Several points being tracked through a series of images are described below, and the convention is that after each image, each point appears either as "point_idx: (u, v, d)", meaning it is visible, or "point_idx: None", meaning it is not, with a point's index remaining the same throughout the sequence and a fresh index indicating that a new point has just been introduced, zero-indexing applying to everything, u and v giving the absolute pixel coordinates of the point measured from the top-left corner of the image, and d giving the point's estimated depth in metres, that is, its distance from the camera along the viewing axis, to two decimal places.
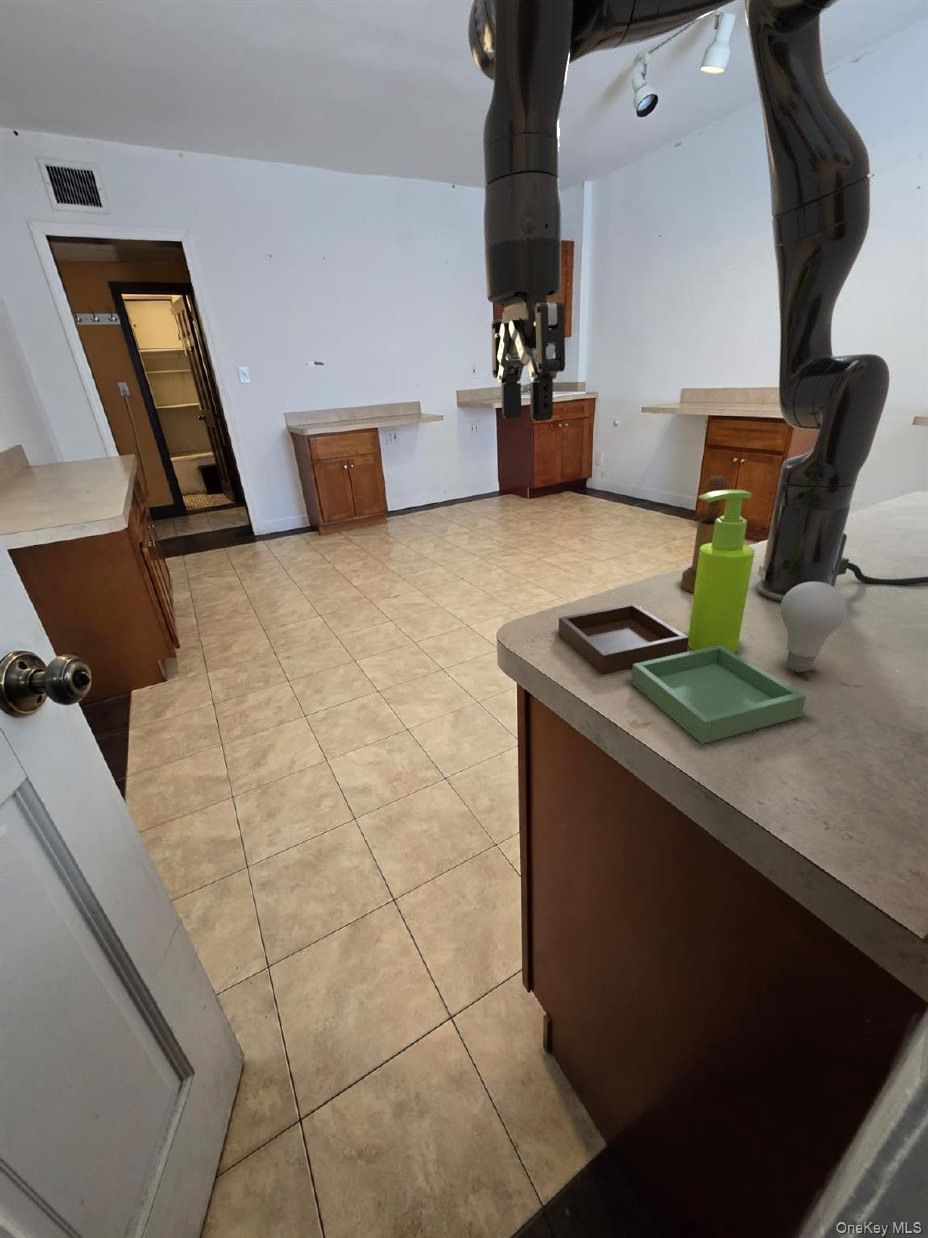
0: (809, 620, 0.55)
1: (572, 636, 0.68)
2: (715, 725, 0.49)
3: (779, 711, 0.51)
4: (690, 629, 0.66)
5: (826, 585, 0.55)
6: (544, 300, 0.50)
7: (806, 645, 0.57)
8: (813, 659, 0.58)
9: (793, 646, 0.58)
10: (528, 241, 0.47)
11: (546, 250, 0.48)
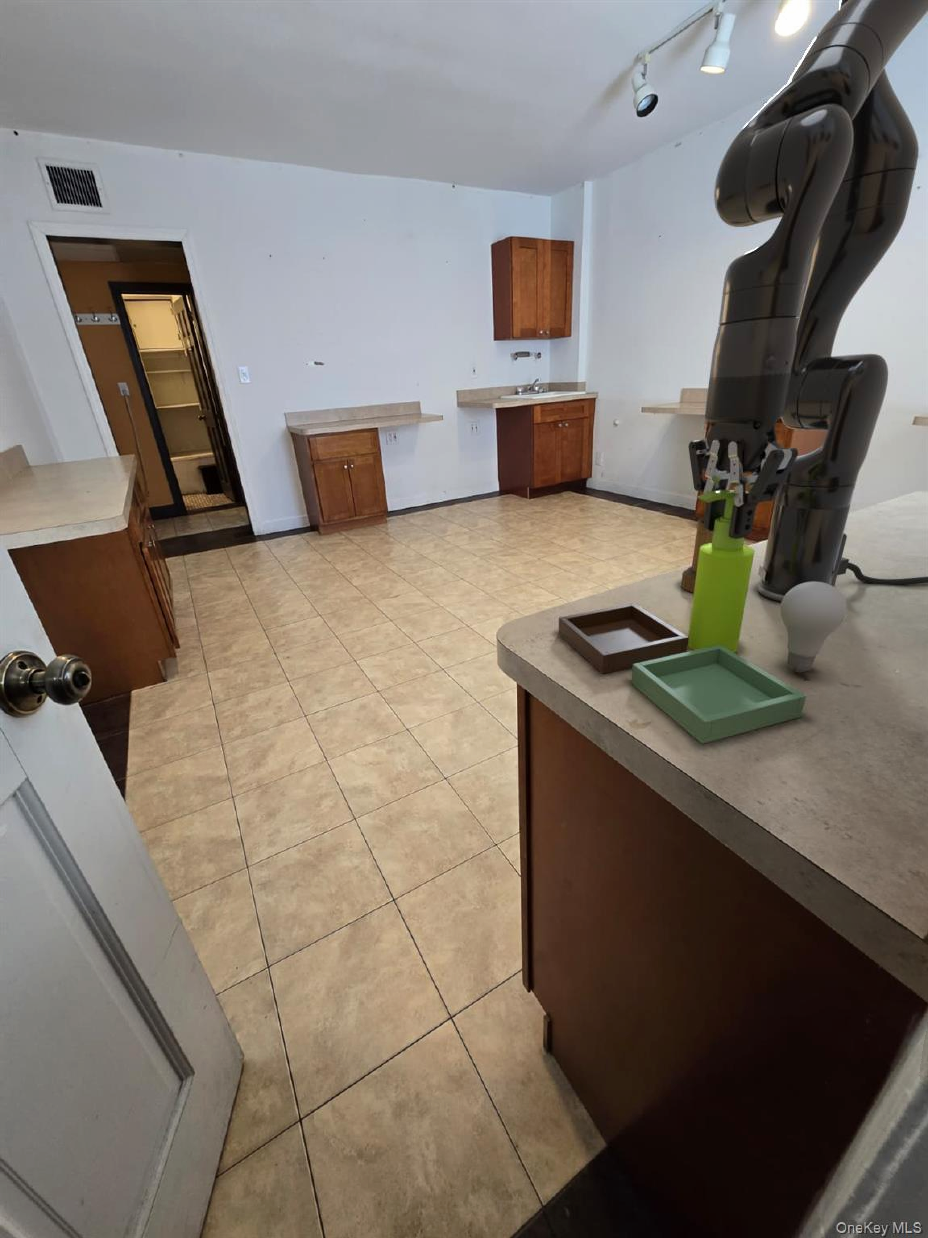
0: (809, 620, 0.55)
1: (572, 636, 0.68)
2: (715, 725, 0.49)
3: (779, 711, 0.51)
4: (690, 629, 0.66)
5: (826, 585, 0.55)
6: (774, 427, 0.52)
7: (806, 645, 0.57)
8: (813, 659, 0.58)
9: (793, 646, 0.58)
10: (769, 377, 0.50)
11: (782, 384, 0.51)
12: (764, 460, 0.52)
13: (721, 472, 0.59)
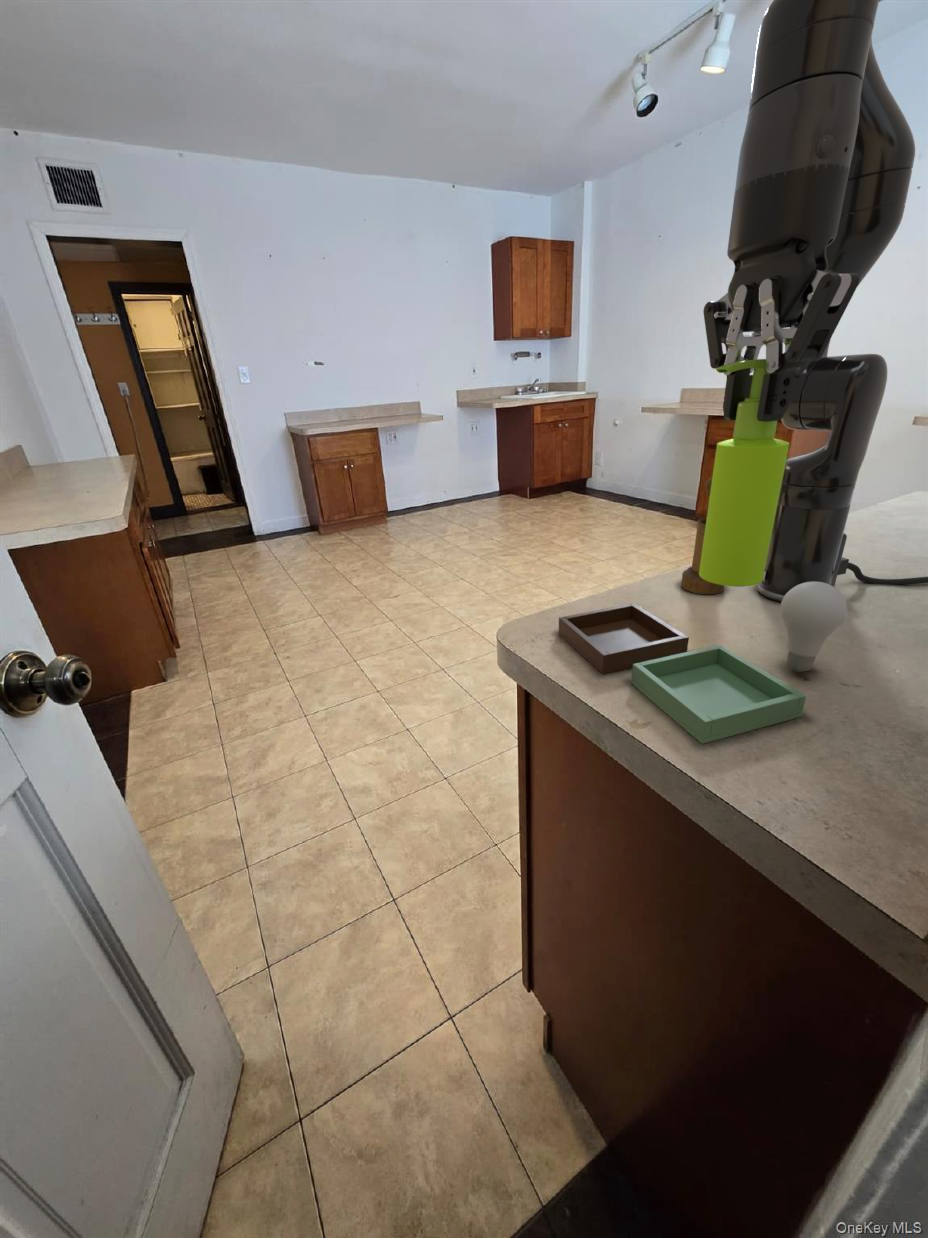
0: (809, 620, 0.55)
1: (572, 636, 0.68)
2: (715, 725, 0.49)
3: (779, 711, 0.51)
4: (703, 554, 0.52)
5: (826, 585, 0.55)
6: (824, 250, 0.38)
7: (806, 645, 0.57)
8: (813, 659, 0.58)
9: (793, 646, 0.58)
10: (821, 169, 0.36)
11: (839, 183, 0.37)
12: (811, 294, 0.38)
13: (747, 336, 0.45)
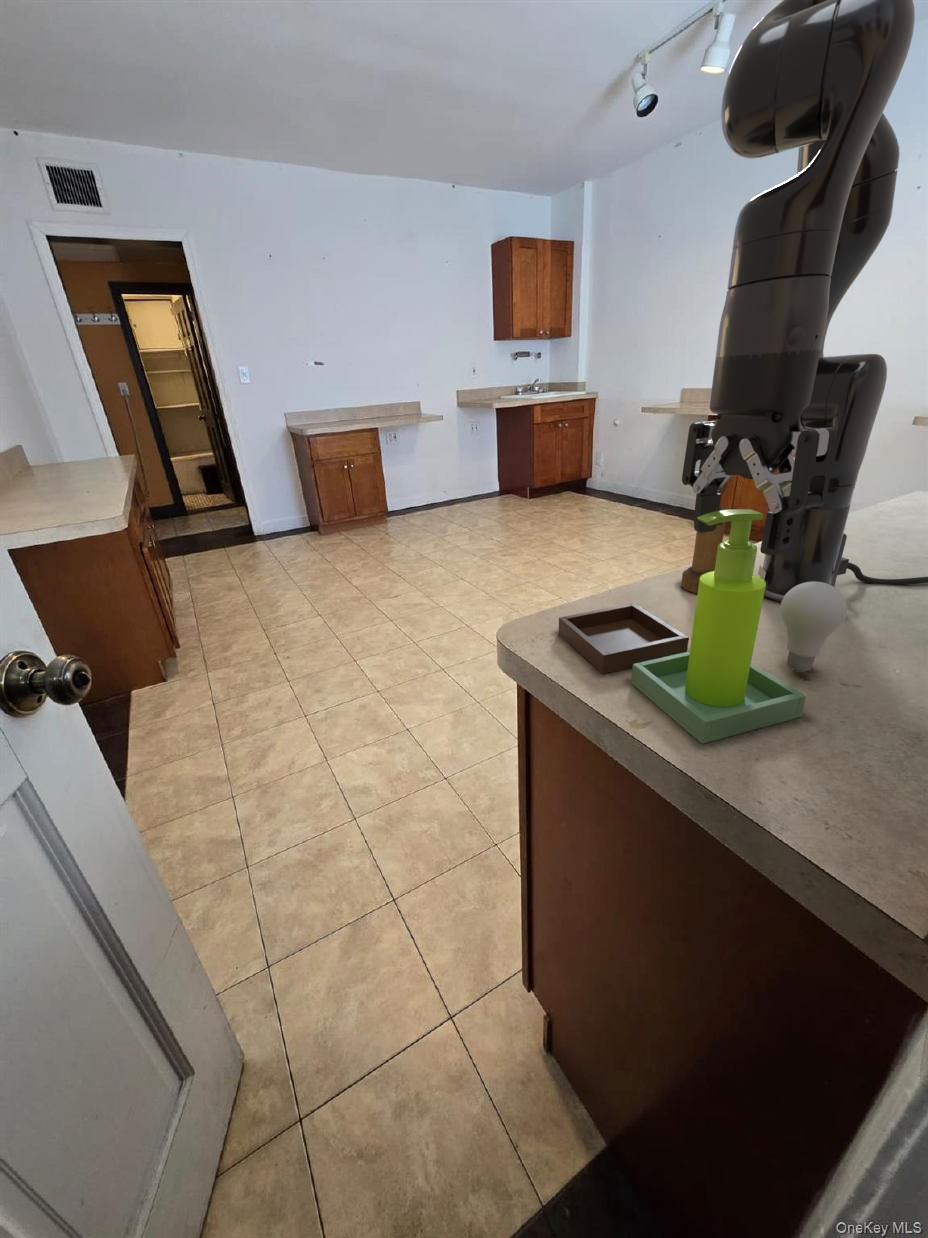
0: (809, 620, 0.55)
1: (572, 636, 0.68)
2: (715, 725, 0.49)
3: (779, 711, 0.51)
4: (688, 673, 0.56)
5: (826, 585, 0.55)
6: (798, 420, 0.41)
7: (806, 645, 0.57)
8: (813, 659, 0.58)
9: (793, 646, 0.58)
10: (793, 355, 0.39)
11: (810, 364, 0.39)
12: (794, 450, 0.40)
13: (720, 469, 0.49)
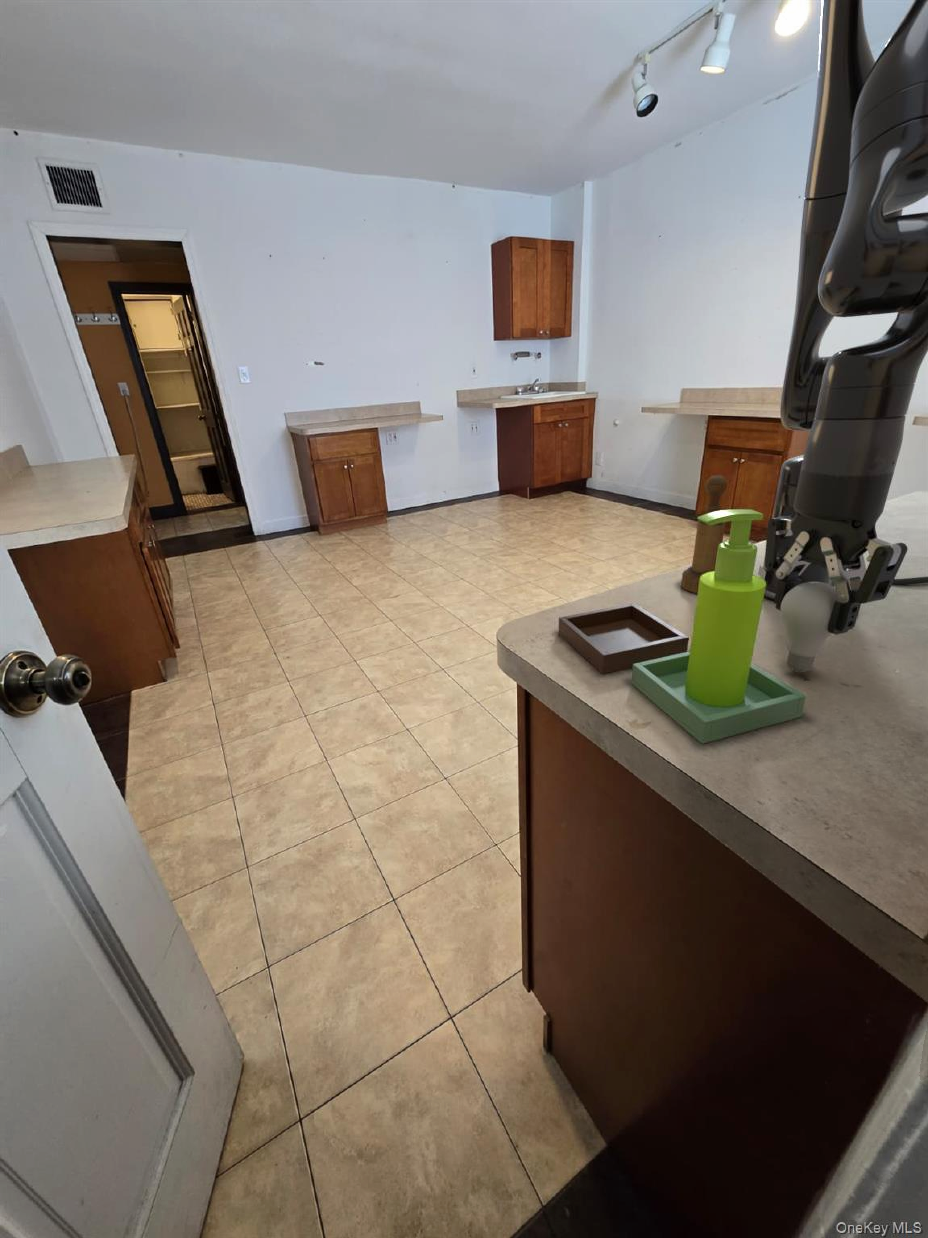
0: (809, 621, 0.55)
1: (572, 636, 0.68)
2: (715, 725, 0.49)
3: (779, 711, 0.51)
4: (688, 673, 0.56)
5: (826, 585, 0.55)
6: (874, 527, 0.49)
7: (806, 645, 0.57)
8: (813, 659, 0.58)
9: (793, 646, 0.58)
10: (874, 478, 0.47)
11: (887, 484, 0.48)
12: (870, 558, 0.48)
13: (801, 558, 0.57)
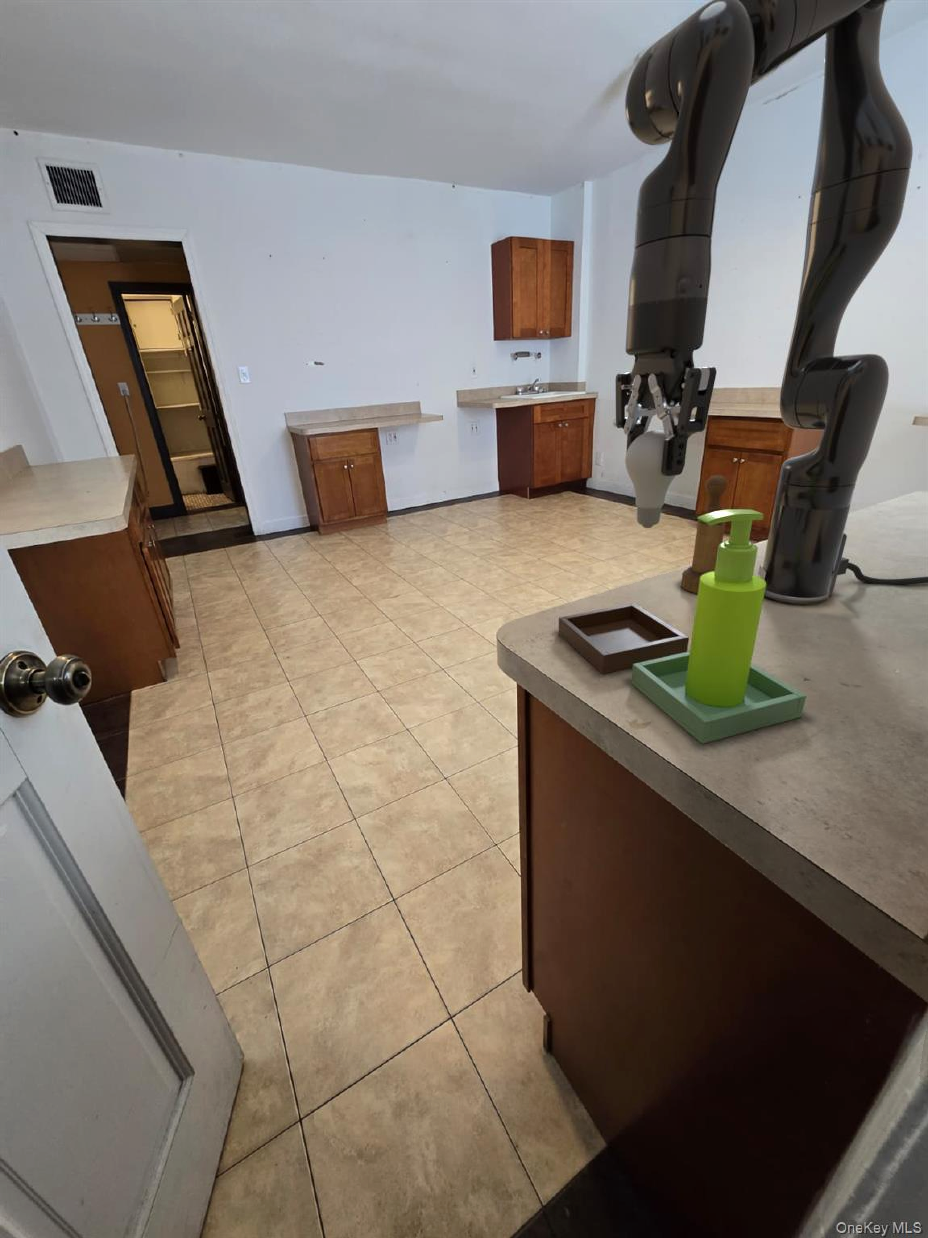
0: (644, 464, 0.56)
1: (572, 636, 0.68)
2: (715, 725, 0.49)
3: (779, 711, 0.51)
4: (688, 673, 0.56)
5: (662, 431, 0.56)
6: (691, 356, 0.50)
7: (648, 494, 0.58)
8: (658, 511, 0.59)
9: (638, 499, 0.59)
10: (682, 301, 0.48)
11: (697, 309, 0.49)
12: (684, 384, 0.50)
13: (642, 408, 0.58)
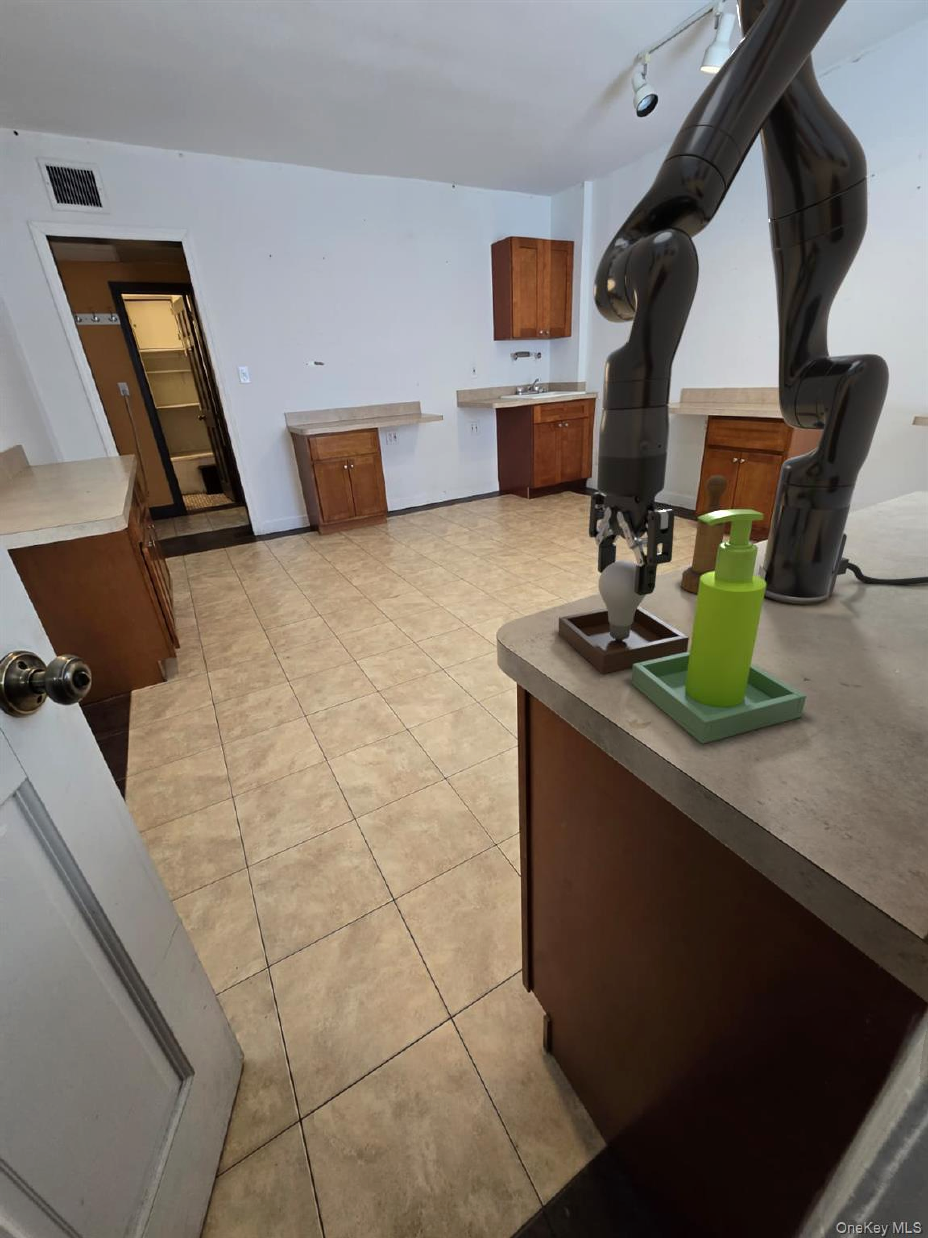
0: (613, 594, 0.63)
1: (572, 636, 0.68)
2: (715, 725, 0.49)
3: (779, 711, 0.51)
4: (688, 673, 0.56)
5: (629, 563, 0.64)
6: (653, 501, 0.57)
7: (618, 616, 0.65)
8: (627, 629, 0.67)
9: (610, 617, 0.67)
10: (643, 459, 0.55)
11: (657, 464, 0.56)
12: (647, 524, 0.56)
13: (612, 528, 0.65)
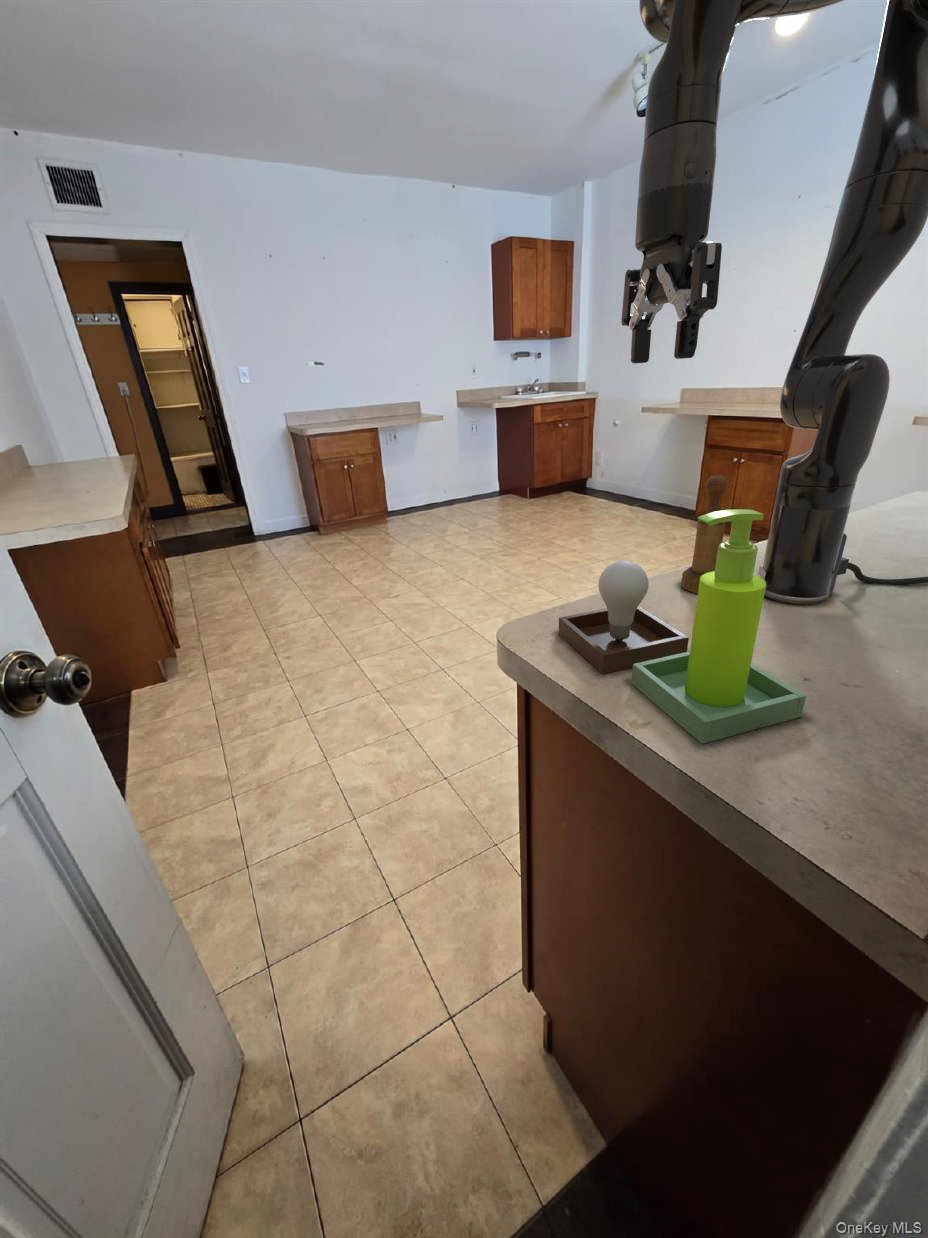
0: (613, 594, 0.63)
1: (572, 636, 0.68)
2: (715, 725, 0.49)
3: (779, 711, 0.51)
4: (688, 673, 0.56)
5: (630, 563, 0.64)
6: (697, 243, 0.54)
7: (618, 616, 0.65)
8: (627, 629, 0.67)
9: (610, 617, 0.67)
10: (689, 186, 0.52)
11: (703, 195, 0.52)
12: (692, 261, 0.53)
13: (648, 304, 0.62)
